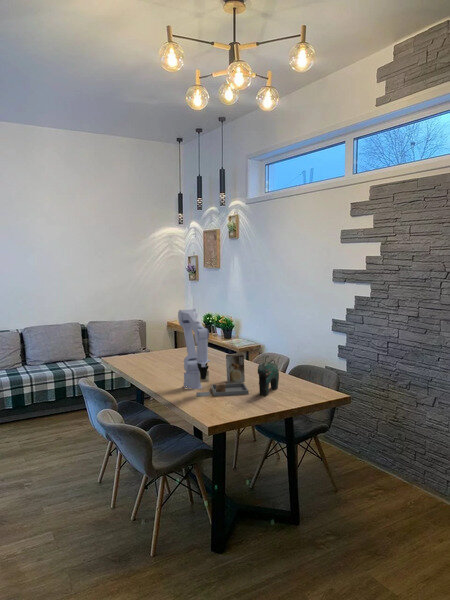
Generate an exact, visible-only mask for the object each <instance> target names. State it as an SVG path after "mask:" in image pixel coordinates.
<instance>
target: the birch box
mask: <svg viewBox="0 0 450 600" xmlns="http://www.w3.org/2000/svg"><path fill="white" fill-rule="evenodd" d="M200 382H201V383H209V382H210V370H209V368H208V369H207V373H206V379H201V376H200Z"/></svg>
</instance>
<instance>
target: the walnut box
mask: <svg viewBox="0 0 450 600" xmlns="http://www.w3.org/2000/svg"><path fill="white" fill-rule="evenodd" d="M225 384H226V383H225V382H216V383H215V385H216V392H225Z"/></svg>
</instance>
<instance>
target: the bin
mask: <svg viewBox="0 0 450 600" xmlns="http://www.w3.org/2000/svg"><path fill="white" fill-rule="evenodd" d="M211 392H212V395H213V397H223V396H225V397H227V396H241V395H242V396H243V395H244V396H245V395H249V394H250V392H249V388H248V387H247V385H246V384H245V382H239V383H225V392H216V384H211Z"/></svg>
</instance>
